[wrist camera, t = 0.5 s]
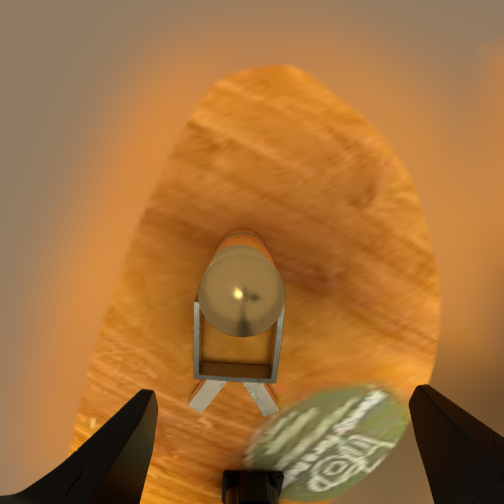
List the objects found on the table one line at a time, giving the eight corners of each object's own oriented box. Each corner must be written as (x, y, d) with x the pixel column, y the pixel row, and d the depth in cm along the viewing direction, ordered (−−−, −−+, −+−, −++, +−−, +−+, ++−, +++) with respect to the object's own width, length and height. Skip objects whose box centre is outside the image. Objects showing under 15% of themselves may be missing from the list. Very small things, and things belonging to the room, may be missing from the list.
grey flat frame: (276, 407, 26) (279, 422, 24) (189, 402, 26) (186, 417, 24) (290, 298, 25) (294, 307, 22) (189, 292, 24) (184, 301, 22)
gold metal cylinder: (265, 279, 24) (282, 339, 13) (216, 276, 24) (196, 335, 13) (268, 230, 24) (290, 255, 13) (218, 227, 24) (198, 250, 13)
